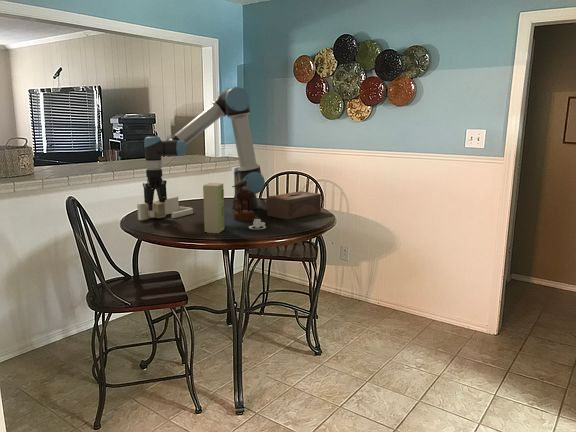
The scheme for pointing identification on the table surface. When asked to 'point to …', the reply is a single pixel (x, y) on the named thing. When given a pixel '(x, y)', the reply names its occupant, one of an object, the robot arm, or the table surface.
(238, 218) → the brown upright irregular piece
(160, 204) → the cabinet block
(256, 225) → the teacup and saucer
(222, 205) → the pale green tall block
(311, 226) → the table surface
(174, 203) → the wall board
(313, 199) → the tissue box cover
